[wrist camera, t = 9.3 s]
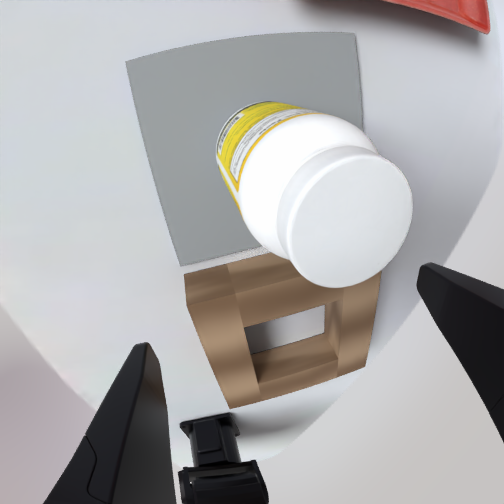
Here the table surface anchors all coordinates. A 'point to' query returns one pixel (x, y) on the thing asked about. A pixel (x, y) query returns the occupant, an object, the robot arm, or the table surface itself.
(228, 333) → the holder block
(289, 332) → the table surface
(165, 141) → the slate mat
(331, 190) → the pill bottle
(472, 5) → the plant saucer
